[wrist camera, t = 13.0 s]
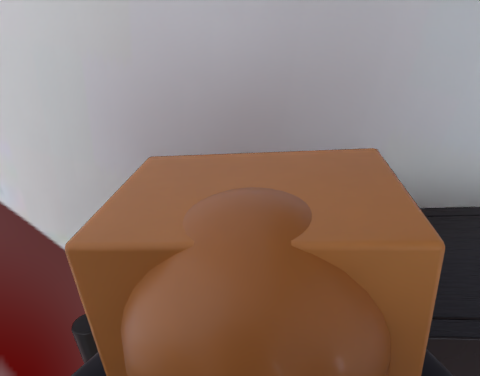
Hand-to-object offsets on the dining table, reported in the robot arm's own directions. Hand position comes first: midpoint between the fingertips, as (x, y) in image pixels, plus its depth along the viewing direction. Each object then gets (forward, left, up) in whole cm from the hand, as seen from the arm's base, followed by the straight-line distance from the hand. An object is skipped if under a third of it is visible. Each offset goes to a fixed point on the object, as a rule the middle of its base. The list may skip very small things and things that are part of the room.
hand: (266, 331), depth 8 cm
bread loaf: (0, 0, -1) cm, 1 cm away
